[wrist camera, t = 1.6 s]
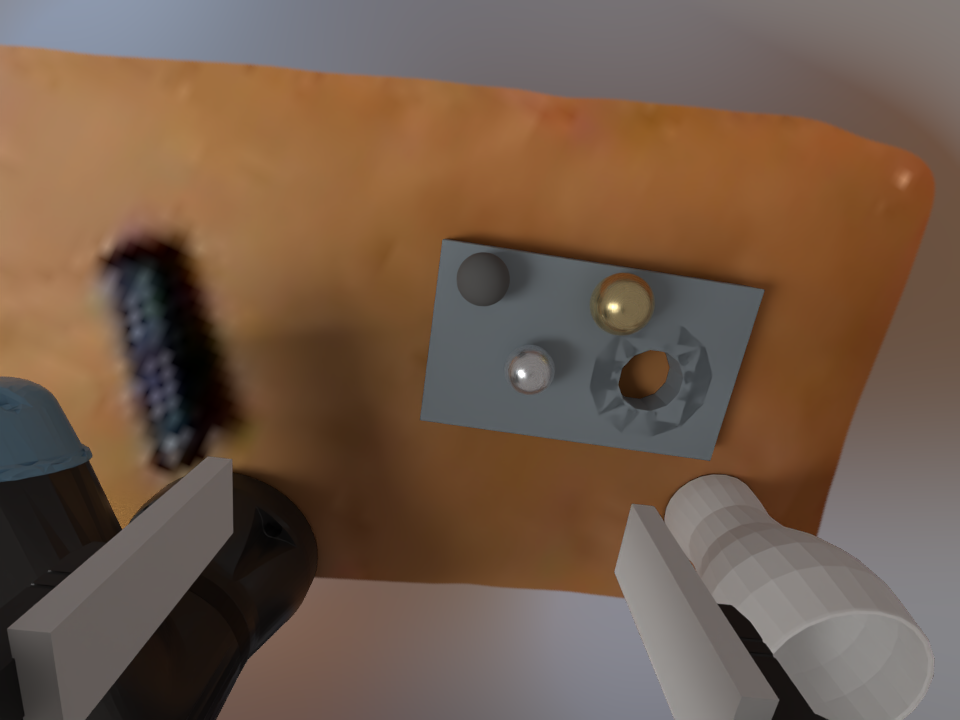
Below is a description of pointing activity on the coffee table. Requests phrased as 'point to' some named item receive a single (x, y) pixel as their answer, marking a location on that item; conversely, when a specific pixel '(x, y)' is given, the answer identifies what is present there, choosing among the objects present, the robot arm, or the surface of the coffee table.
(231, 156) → the coffee table surface
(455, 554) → the coffee table surface
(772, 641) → the cup
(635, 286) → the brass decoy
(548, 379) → the steel ball
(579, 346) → the plate
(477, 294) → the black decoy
